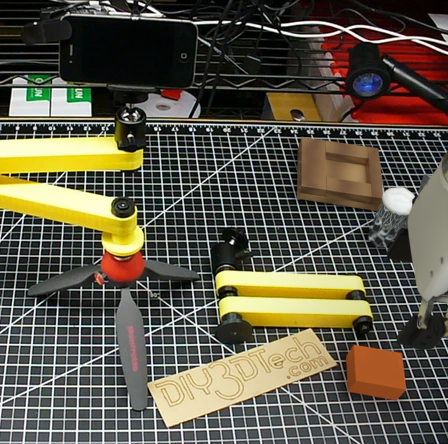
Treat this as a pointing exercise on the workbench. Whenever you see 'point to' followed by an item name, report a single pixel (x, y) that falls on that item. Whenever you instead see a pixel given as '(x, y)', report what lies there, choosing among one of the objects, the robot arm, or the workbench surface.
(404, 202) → the milkshake
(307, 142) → the wooden tray
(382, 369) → the orange block
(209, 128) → the workbench surface
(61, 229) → the workbench surface
